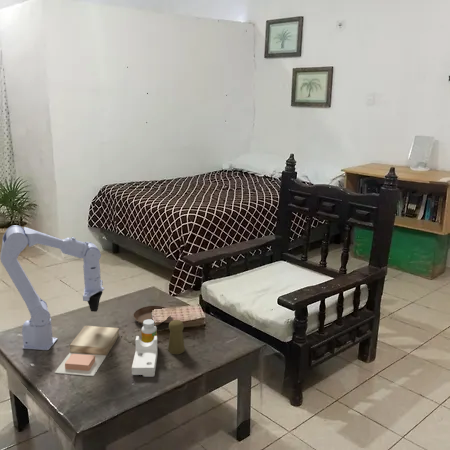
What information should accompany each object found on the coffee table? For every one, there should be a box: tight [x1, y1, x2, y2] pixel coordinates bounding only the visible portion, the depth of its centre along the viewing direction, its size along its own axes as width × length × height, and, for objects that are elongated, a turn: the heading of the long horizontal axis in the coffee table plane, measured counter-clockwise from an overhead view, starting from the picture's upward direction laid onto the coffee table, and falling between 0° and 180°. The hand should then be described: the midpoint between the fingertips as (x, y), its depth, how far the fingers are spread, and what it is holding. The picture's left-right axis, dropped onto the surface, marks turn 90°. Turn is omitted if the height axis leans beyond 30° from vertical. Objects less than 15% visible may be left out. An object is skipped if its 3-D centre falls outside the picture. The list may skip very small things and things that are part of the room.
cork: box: [167, 319, 186, 355], centre depth 172 cm, size 6×6×11 cm
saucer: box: [132, 305, 166, 326], centre depth 195 cm, size 15×15×3 cm
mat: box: [54, 352, 107, 377], centre depth 164 cm, size 13×12×1 cm
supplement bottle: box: [140, 319, 158, 343], centre depth 174 cm, size 5×5×10 cm
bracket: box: [131, 335, 159, 378], centre depth 163 cm, size 13×7×8 cm, turn 3°
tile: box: [65, 353, 95, 371], centre depth 163 cm, size 8×6×2 cm
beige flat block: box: [69, 325, 120, 356], centre depth 176 cm, size 13×14×3 cm
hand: (94, 310), depth 181 cm, fingers closed
